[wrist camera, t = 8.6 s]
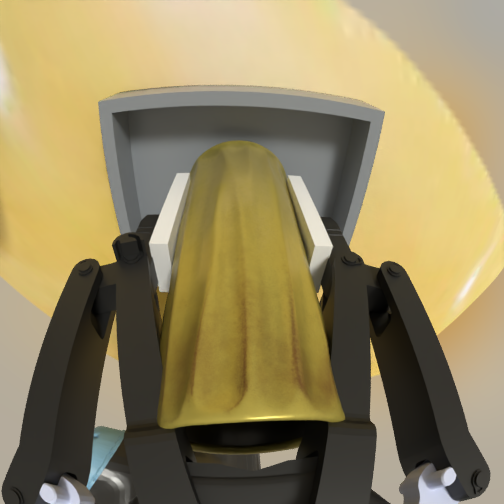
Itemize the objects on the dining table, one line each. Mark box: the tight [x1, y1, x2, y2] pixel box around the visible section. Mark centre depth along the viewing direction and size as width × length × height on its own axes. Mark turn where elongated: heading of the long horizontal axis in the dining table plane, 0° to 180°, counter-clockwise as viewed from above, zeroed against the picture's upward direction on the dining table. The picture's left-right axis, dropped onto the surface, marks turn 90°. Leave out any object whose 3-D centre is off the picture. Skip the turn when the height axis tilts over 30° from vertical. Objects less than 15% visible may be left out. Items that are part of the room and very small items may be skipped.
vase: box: [157, 140, 345, 455], centre depth 12 cm, size 6×6×14 cm
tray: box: [98, 85, 385, 246], centre depth 18 cm, size 12×16×4 cm
